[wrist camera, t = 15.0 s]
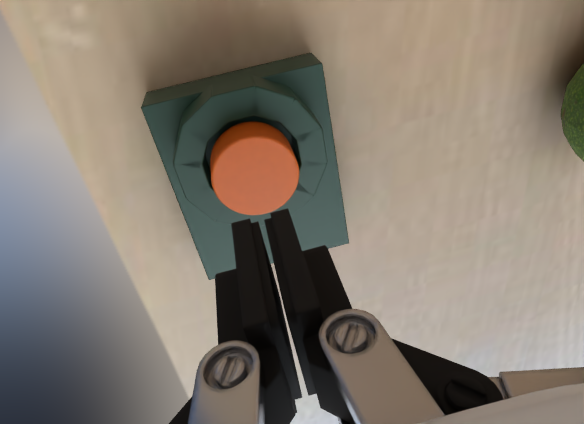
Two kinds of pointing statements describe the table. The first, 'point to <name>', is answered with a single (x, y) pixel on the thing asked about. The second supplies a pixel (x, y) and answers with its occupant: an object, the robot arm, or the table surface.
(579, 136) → the fruit
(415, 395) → the robot arm
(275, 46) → the table surface
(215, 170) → the button
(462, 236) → the table surface
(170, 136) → the housing
